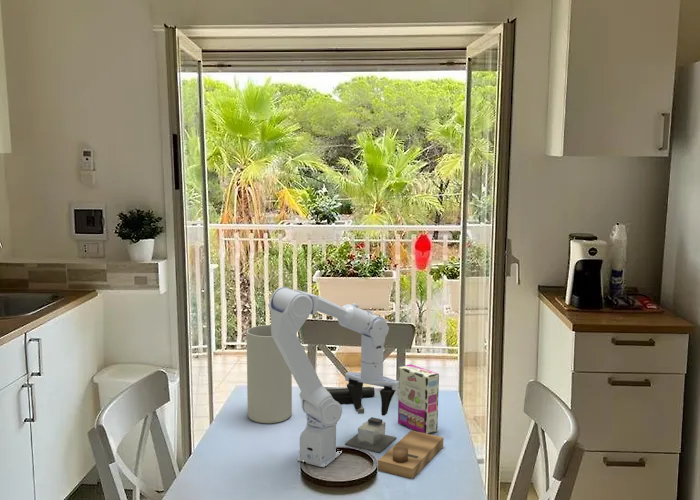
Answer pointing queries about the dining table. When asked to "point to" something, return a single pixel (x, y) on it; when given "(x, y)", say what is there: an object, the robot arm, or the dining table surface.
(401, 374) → the candy bar box
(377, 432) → the off-white rectangular block
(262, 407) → the cylinder vase
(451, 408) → the dining table surface
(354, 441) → the mat
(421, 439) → the wooden board with knob
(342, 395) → the black two-tone device
